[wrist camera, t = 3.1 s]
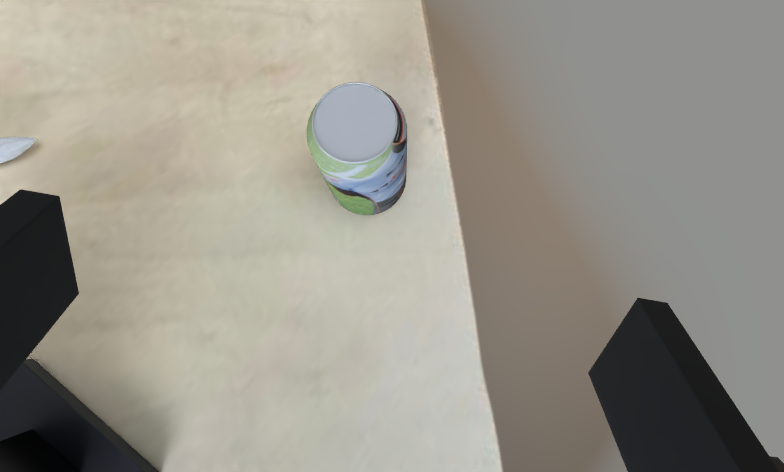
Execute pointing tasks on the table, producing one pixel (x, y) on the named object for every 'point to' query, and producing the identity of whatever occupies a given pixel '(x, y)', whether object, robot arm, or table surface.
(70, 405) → the bracket
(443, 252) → the table surface
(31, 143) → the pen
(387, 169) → the beverage can
